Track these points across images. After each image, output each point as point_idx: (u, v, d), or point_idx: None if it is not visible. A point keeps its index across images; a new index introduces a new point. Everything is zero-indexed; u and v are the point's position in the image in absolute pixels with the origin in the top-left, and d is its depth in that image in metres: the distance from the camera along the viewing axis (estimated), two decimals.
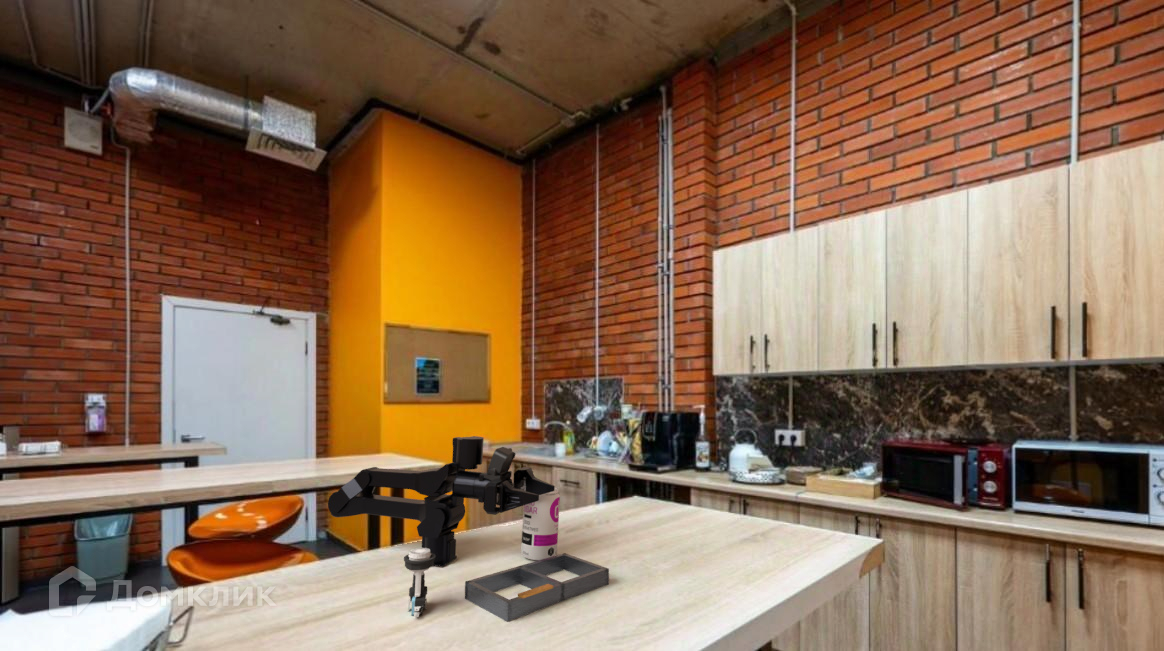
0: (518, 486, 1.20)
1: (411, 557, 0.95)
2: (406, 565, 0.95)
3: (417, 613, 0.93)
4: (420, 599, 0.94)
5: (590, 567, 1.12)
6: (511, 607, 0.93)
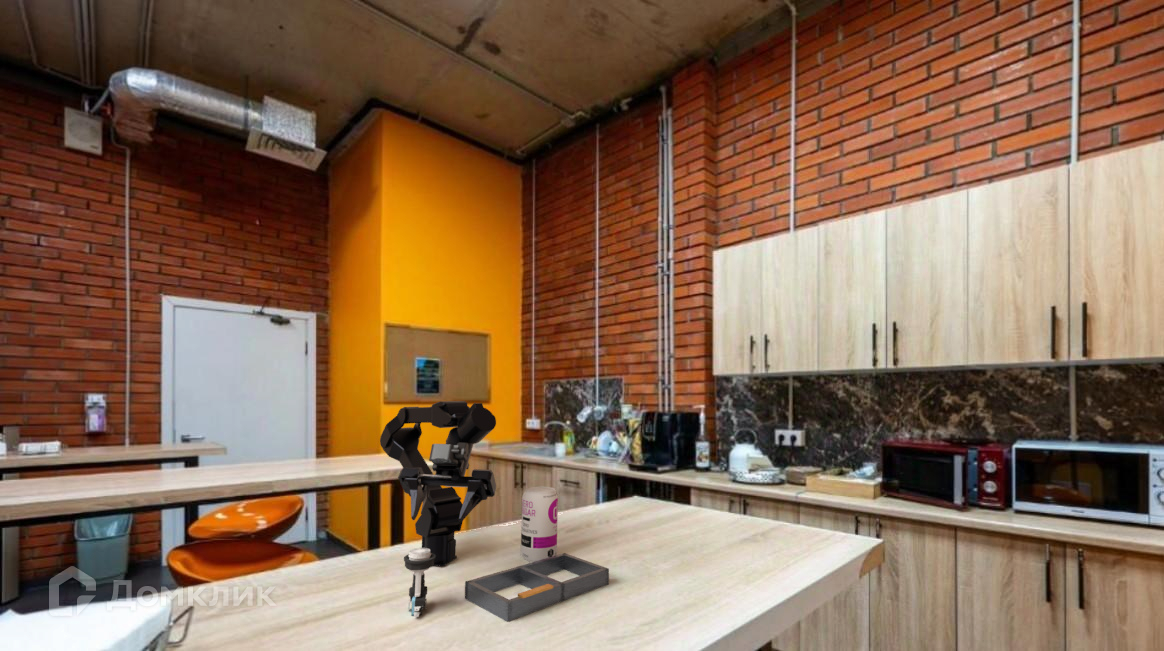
0: (461, 485, 1.10)
1: (411, 557, 0.95)
2: (406, 565, 0.95)
3: (417, 613, 0.93)
4: (420, 599, 0.94)
5: (590, 567, 1.12)
6: (511, 607, 0.93)
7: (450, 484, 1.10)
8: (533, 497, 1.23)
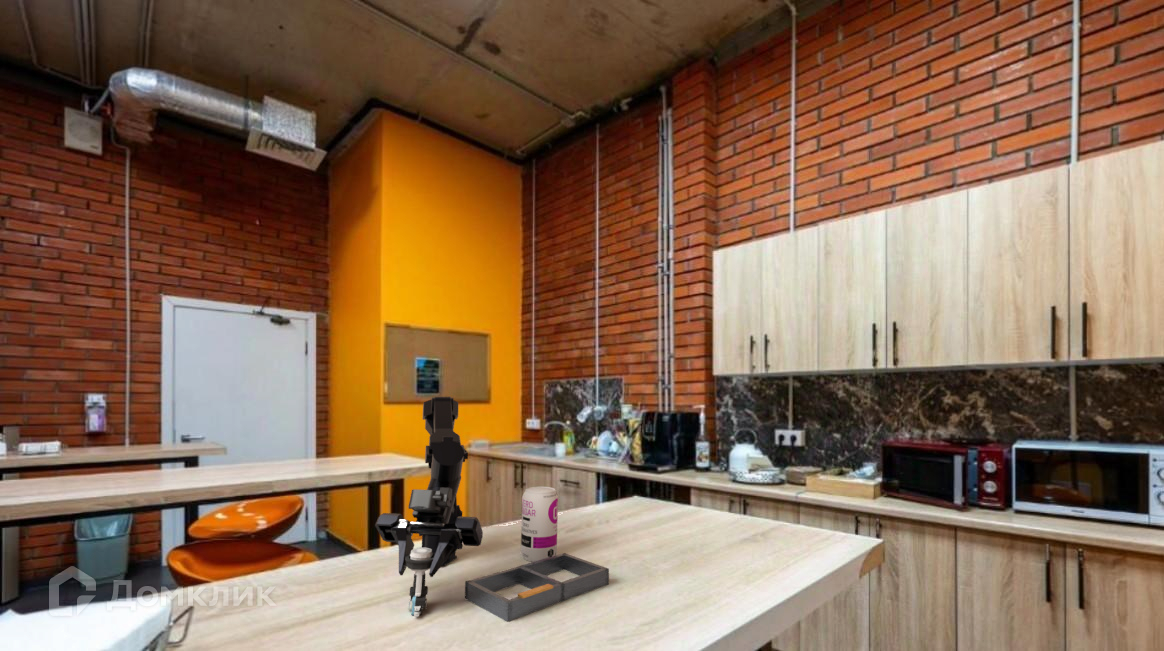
0: None
1: (413, 556, 0.95)
2: (407, 564, 0.95)
3: (417, 613, 0.93)
4: (420, 599, 0.94)
5: (590, 567, 1.12)
6: (511, 607, 0.93)
7: (422, 532, 1.01)
8: (533, 497, 1.23)
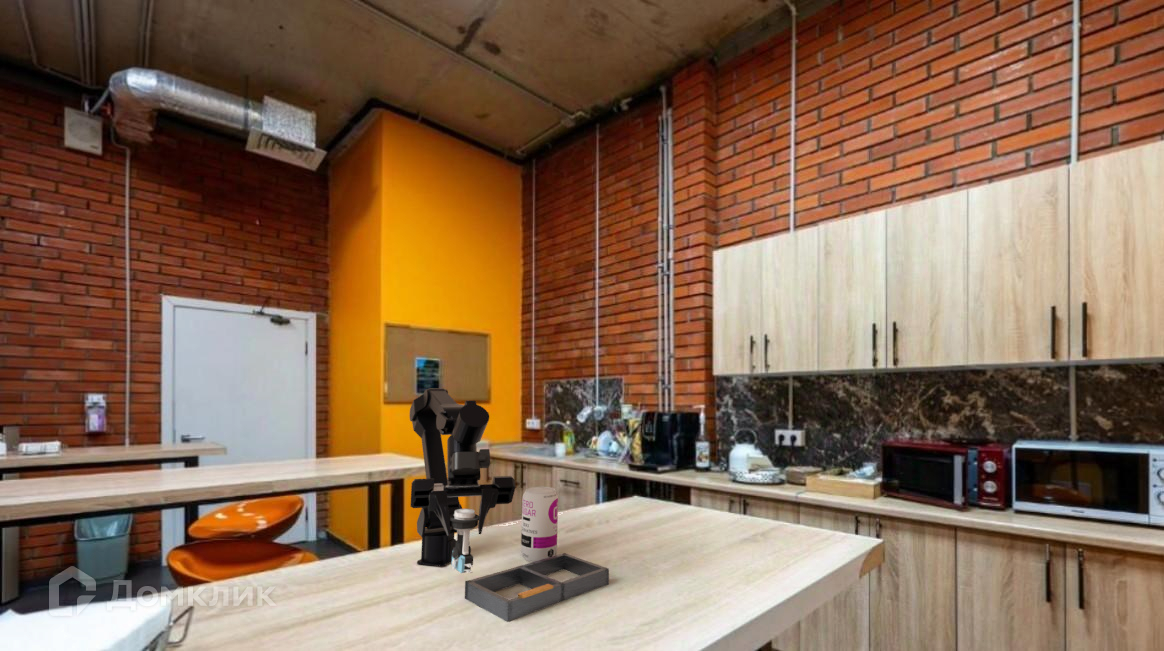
0: (479, 494, 1.03)
1: (460, 517, 0.97)
2: (455, 525, 0.96)
3: (468, 570, 0.96)
4: (469, 556, 0.97)
5: (590, 567, 1.12)
6: (511, 607, 0.93)
7: (456, 494, 1.02)
8: (534, 497, 1.23)
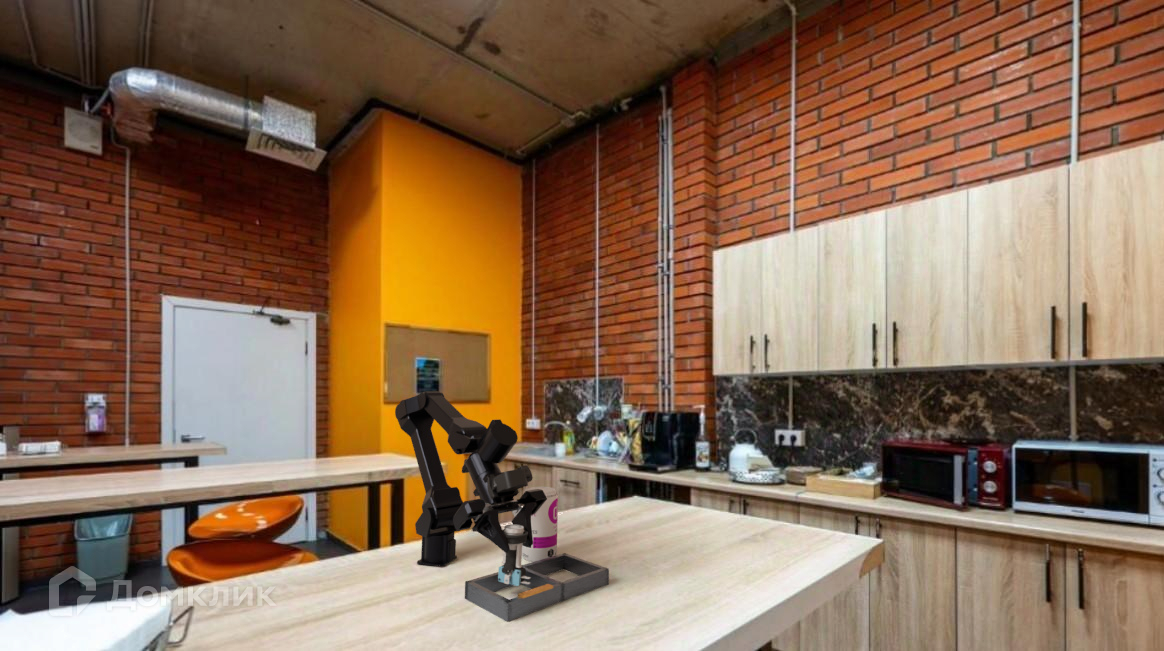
0: (515, 509, 1.08)
1: (514, 533, 1.01)
2: (511, 541, 1.00)
3: (524, 582, 1.01)
4: (523, 569, 1.02)
5: (590, 567, 1.12)
6: (511, 607, 0.93)
7: (498, 512, 1.05)
8: None
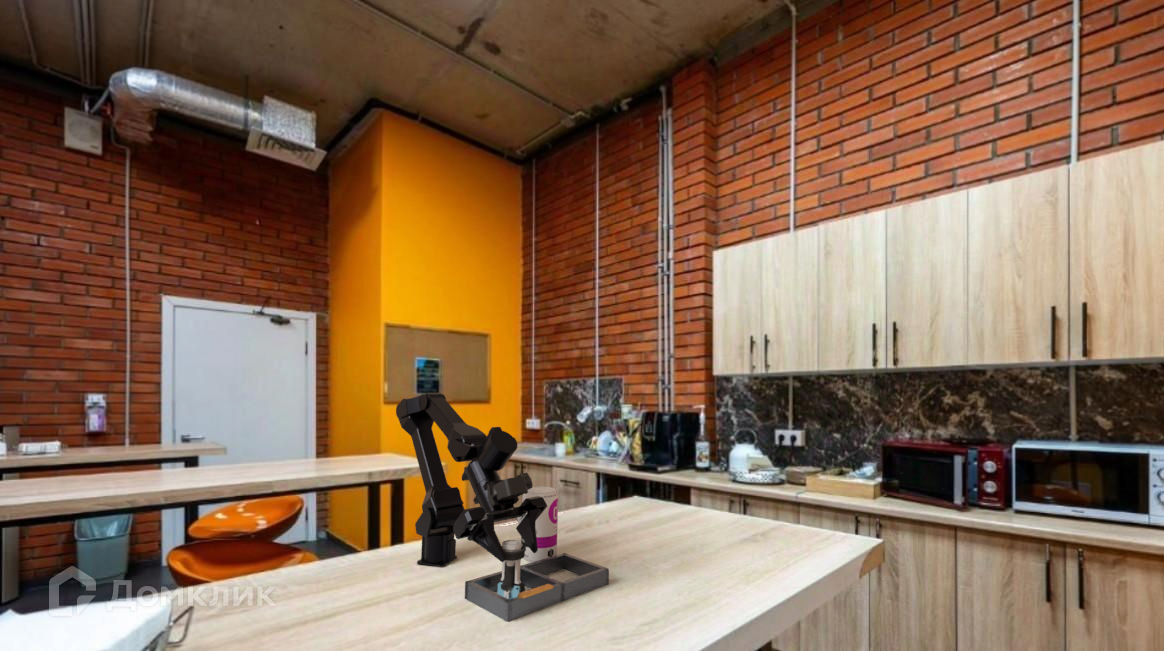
0: (515, 516, 1.07)
1: (512, 549, 1.01)
2: (509, 558, 1.00)
3: None
4: (522, 585, 1.01)
5: (590, 567, 1.12)
6: (511, 607, 0.93)
7: (502, 519, 1.05)
8: None
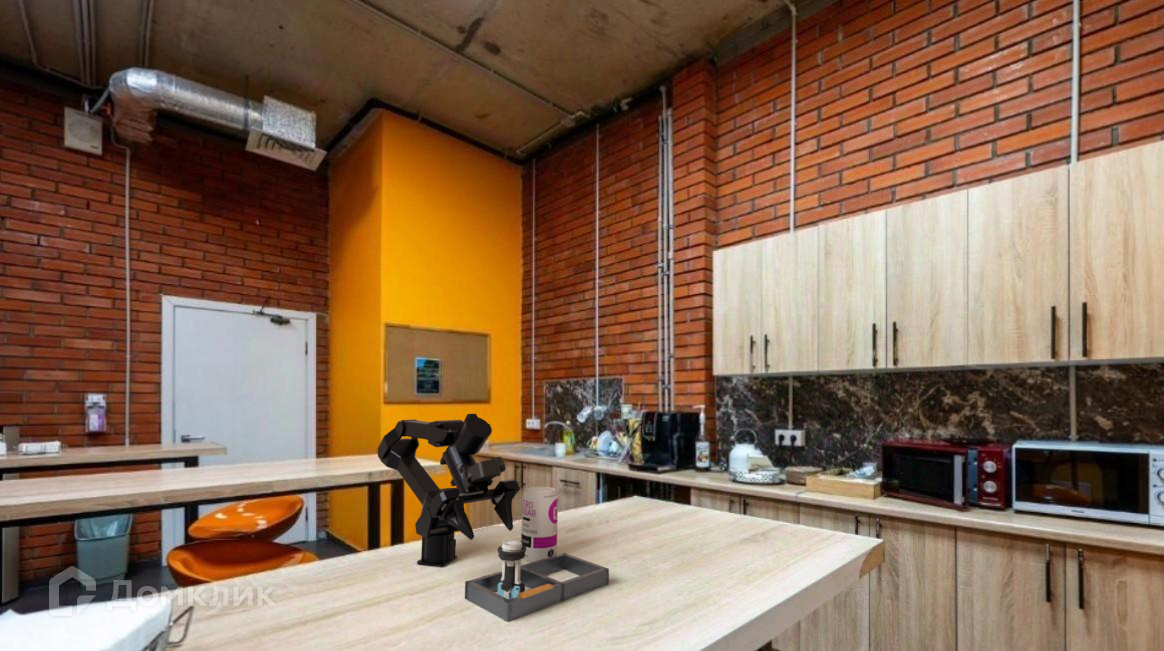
0: (490, 498, 1.14)
1: (513, 549, 1.01)
2: (509, 558, 1.00)
3: None
4: (522, 585, 1.01)
5: (590, 567, 1.12)
6: (511, 607, 0.93)
7: (480, 499, 1.12)
8: (534, 497, 1.23)
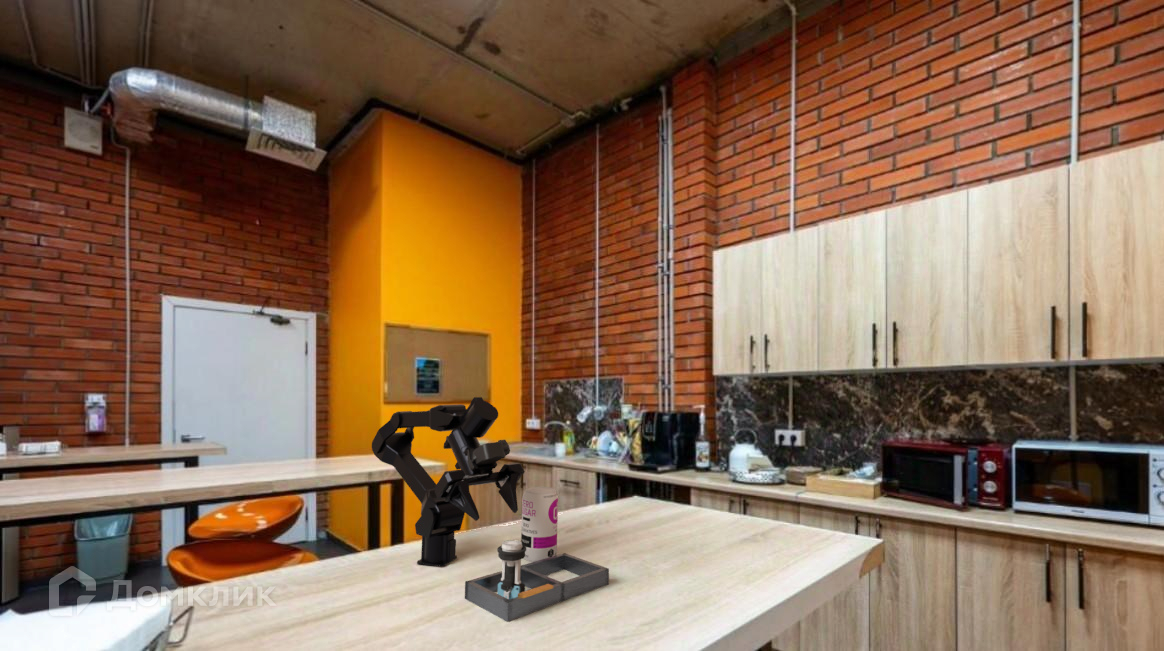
0: (494, 480, 1.15)
1: (513, 549, 1.01)
2: (509, 558, 1.00)
3: None
4: (522, 585, 1.01)
5: (590, 567, 1.12)
6: (511, 607, 0.93)
7: (485, 482, 1.13)
8: (534, 497, 1.23)
